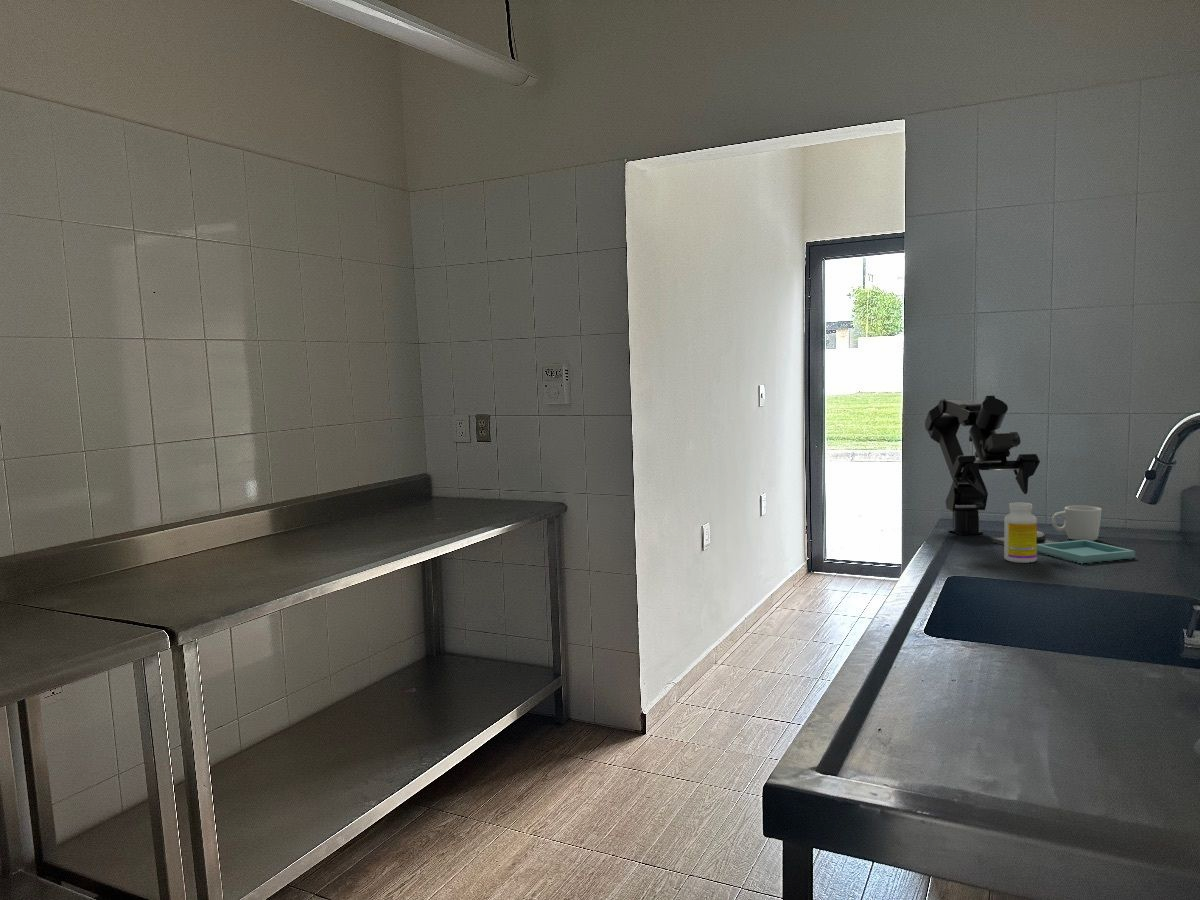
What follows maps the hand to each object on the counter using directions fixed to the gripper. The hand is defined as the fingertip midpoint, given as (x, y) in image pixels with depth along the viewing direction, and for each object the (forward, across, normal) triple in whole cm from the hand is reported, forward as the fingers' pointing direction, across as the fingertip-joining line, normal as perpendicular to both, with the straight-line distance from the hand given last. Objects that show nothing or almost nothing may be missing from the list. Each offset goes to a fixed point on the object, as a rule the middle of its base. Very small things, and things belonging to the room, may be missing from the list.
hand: (1005, 493), depth 198 cm
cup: (0, +22, +19) cm, 30 cm away
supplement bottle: (+16, 0, +4) cm, 16 cm away
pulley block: (+4, +8, +15) cm, 18 cm away
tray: (+13, +15, +7) cm, 21 cm away
